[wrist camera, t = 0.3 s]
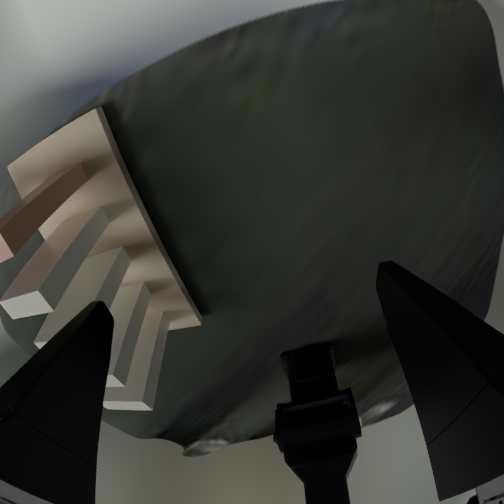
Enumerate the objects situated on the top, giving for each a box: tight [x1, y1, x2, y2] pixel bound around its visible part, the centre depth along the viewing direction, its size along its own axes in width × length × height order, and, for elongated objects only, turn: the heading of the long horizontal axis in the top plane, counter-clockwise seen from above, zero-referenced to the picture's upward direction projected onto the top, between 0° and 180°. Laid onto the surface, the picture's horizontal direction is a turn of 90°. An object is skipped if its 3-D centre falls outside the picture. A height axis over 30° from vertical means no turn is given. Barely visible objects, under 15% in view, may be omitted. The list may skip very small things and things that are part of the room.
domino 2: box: [0, 206, 110, 319], centre depth 18 cm, size 2×5×10 cm, turn 105°
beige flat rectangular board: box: [7, 106, 202, 330], centre depth 24 cm, size 22×11×1 cm, turn 15°
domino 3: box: [34, 246, 131, 349], centre depth 20 cm, size 2×5×10 cm, turn 105°
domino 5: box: [103, 311, 170, 410], centre depth 24 cm, size 2×5×10 cm, turn 105°
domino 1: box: [0, 162, 89, 263], centre depth 15 cm, size 2×5×10 cm, turn 106°
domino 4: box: [106, 281, 152, 387], centre depth 22 cm, size 2×5×10 cm, turn 105°
